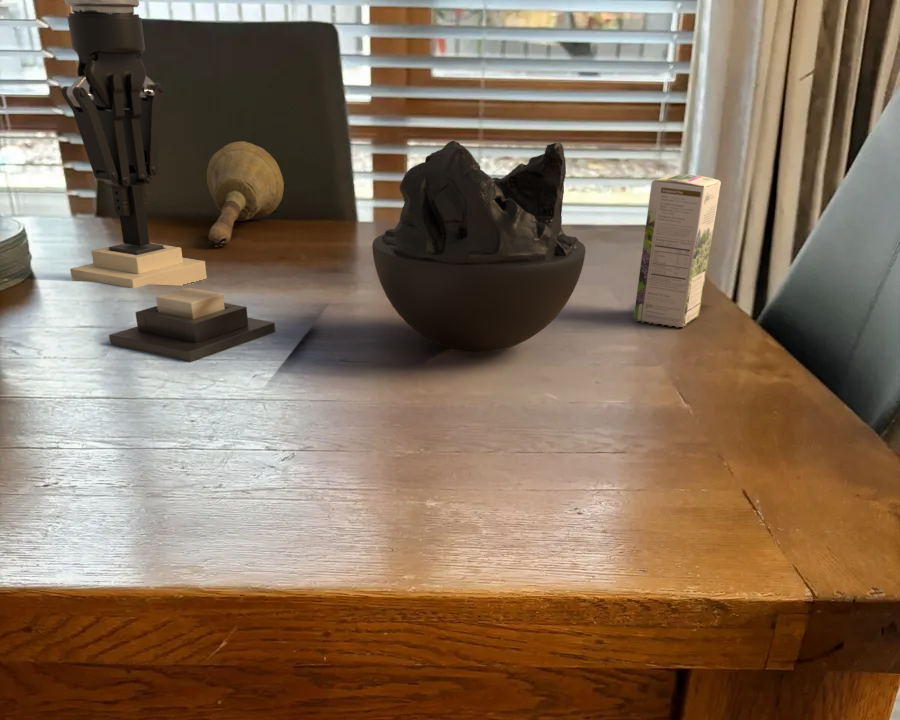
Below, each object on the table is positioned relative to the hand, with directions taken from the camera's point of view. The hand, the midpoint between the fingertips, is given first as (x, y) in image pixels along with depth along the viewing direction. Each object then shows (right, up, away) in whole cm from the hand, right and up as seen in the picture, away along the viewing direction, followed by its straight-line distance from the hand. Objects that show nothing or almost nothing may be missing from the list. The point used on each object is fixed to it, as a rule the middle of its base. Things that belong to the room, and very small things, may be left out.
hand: (136, 243), depth 115 cm
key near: (+13, -15, -23) cm, 30 cm away
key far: (0, -2, +1) cm, 2 cm away
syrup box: (+61, -11, -8) cm, 63 cm away
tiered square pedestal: (+12, -18, -21) cm, 30 cm away
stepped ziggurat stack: (0, -4, +2) cm, 5 cm away
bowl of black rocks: (+40, -17, -18) cm, 47 cm away
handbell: (+6, +12, +30) cm, 33 cm away
